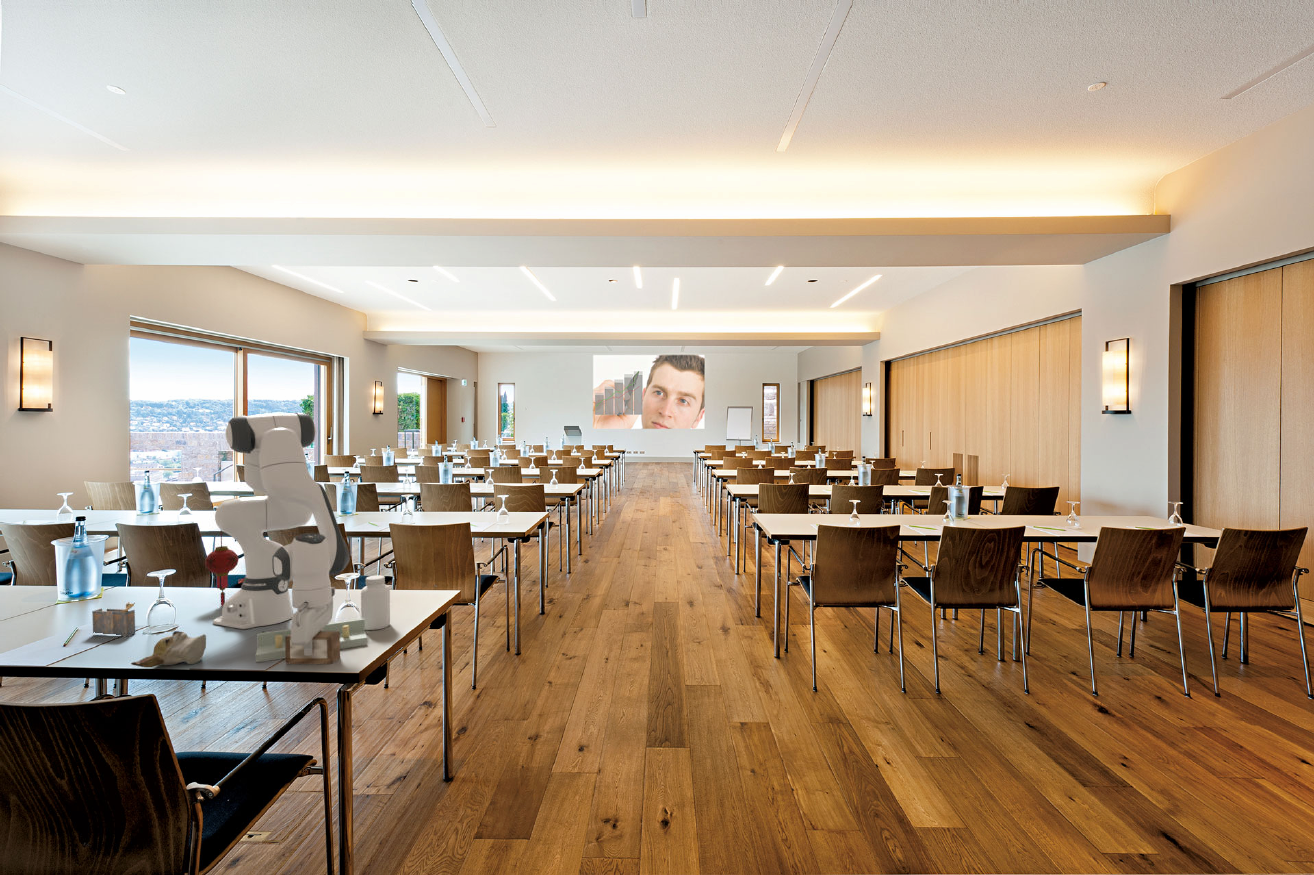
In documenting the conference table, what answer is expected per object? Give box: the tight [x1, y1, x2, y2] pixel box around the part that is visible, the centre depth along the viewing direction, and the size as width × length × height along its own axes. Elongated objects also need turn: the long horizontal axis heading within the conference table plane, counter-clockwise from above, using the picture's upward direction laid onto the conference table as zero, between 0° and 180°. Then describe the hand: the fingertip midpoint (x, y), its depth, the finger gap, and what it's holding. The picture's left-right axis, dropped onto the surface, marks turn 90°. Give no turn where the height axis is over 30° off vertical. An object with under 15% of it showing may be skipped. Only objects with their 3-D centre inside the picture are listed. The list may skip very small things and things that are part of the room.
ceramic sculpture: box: [130, 630, 207, 668], centre depth 162 cm, size 11×9×15 cm
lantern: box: [204, 529, 239, 606], centre depth 214 cm, size 10×10×30 cm
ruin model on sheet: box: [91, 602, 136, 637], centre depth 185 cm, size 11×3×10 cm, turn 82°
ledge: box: [255, 618, 368, 663], centre depth 172 cm, size 26×8×5 cm, turn 119°
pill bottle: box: [360, 574, 391, 631], centre depth 190 cm, size 8×8×15 cm
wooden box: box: [285, 631, 341, 665], centre depth 163 cm, size 12×4×7 cm, turn 89°
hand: (313, 650), depth 163 cm, fingers closed on wooden box, 4 cm apart
